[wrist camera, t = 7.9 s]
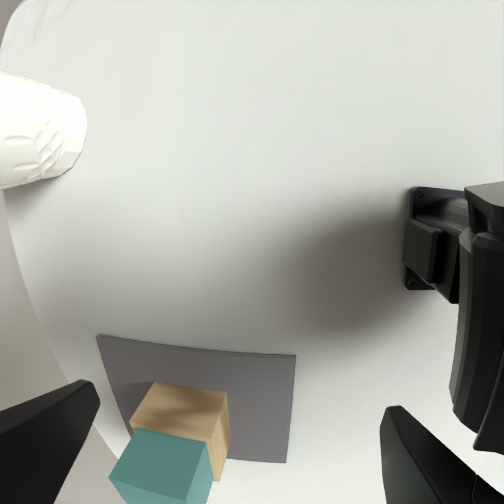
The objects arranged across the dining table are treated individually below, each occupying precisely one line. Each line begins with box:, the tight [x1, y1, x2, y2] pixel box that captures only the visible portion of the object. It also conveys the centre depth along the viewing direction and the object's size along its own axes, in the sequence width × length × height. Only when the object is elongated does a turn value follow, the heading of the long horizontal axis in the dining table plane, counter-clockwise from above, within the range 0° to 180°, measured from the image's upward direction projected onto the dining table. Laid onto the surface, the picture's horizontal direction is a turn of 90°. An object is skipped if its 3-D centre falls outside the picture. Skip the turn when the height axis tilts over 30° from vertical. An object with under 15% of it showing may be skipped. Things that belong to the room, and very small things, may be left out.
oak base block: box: [129, 381, 231, 482], centre depth 20 cm, size 6×6×5 cm
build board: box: [96, 334, 296, 463], centre depth 23 cm, size 16×13×1 cm
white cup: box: [0, 71, 87, 190], centre depth 13 cm, size 8×8×10 cm
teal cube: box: [109, 427, 214, 504], centre depth 15 cm, size 5×5×5 cm
